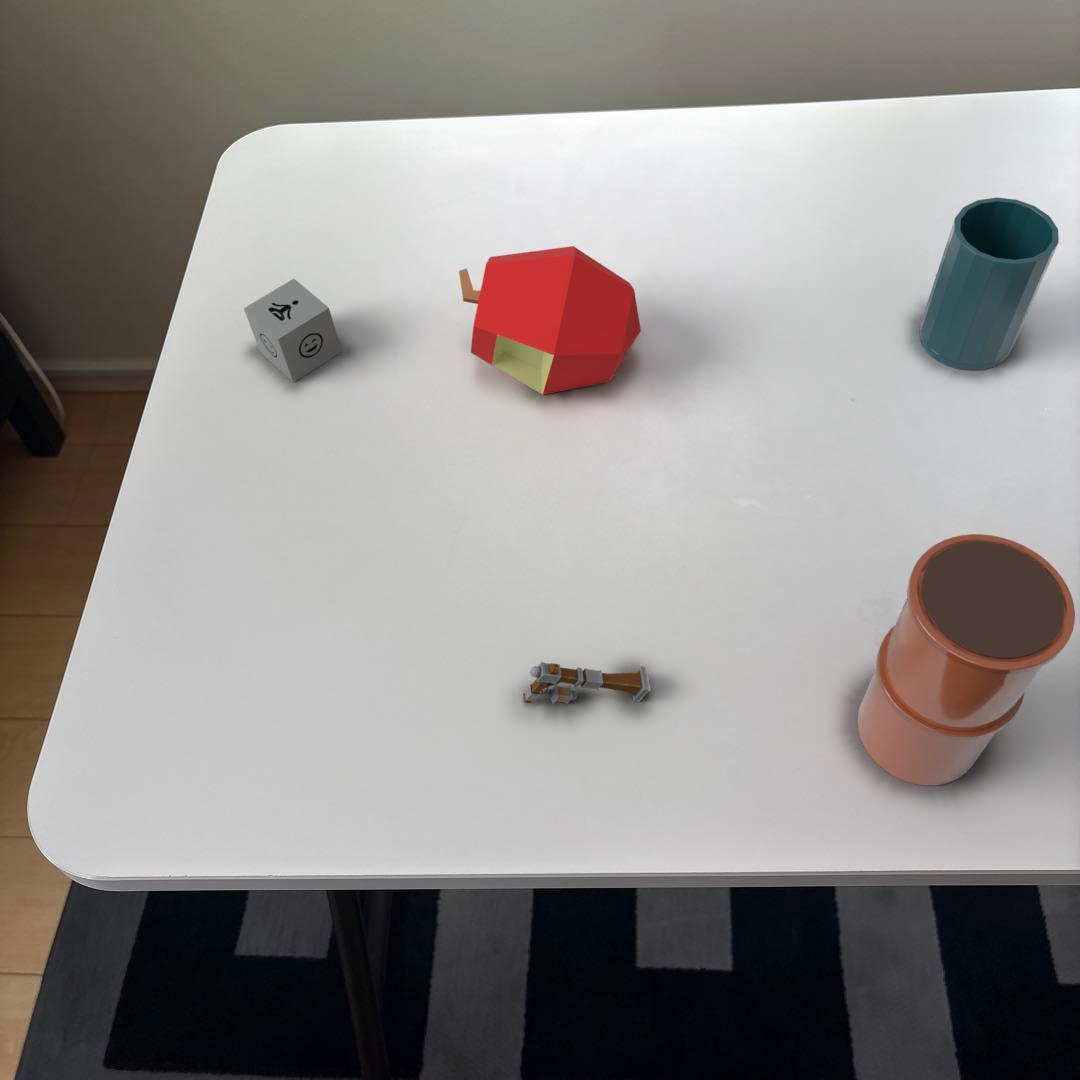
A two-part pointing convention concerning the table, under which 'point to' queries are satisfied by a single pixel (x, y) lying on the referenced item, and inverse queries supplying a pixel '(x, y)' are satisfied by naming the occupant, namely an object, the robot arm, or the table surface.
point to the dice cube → (293, 329)
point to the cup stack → (962, 655)
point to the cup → (987, 282)
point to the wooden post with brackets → (583, 682)
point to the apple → (552, 318)
